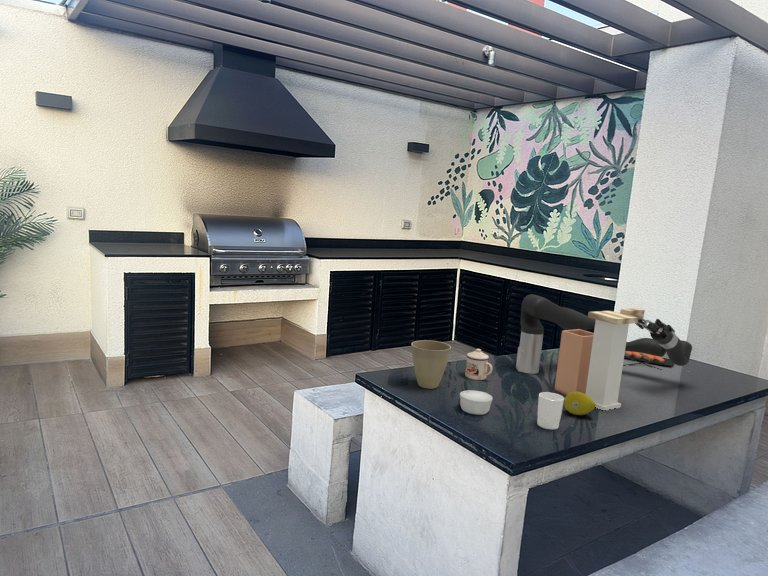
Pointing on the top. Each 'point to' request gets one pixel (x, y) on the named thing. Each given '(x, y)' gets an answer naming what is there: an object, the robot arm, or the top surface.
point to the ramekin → (475, 402)
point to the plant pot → (429, 362)
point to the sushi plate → (647, 359)
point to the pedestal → (606, 364)
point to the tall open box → (574, 361)
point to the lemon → (578, 403)
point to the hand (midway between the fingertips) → (646, 318)
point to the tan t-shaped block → (618, 316)
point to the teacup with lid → (477, 365)
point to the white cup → (549, 410)
